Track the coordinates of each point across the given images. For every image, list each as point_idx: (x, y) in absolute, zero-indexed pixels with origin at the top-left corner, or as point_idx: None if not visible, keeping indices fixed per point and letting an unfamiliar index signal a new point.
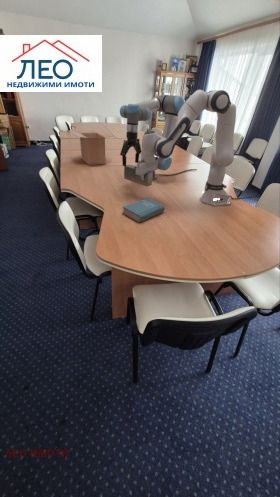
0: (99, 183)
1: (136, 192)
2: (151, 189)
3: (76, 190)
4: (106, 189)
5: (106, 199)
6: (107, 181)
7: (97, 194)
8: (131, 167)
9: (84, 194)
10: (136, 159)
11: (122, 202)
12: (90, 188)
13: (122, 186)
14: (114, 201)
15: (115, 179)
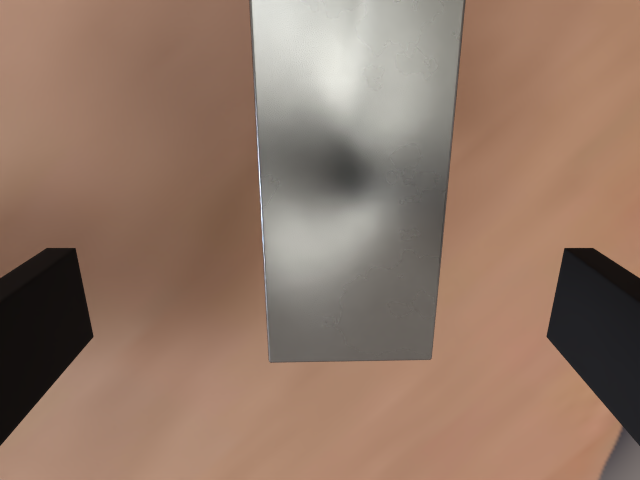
0: (349, 475)
1: (239, 120)
2: (24, 55)
3: (585, 474)
4: None
5: (588, 204)
6: (263, 469)
7: (547, 330)
8: (416, 171)
9: None
10: (33, 348)
11: (552, 42)
12: (484, 445)
13: (239, 319)
14: (581, 119)
15: (170, 463)
